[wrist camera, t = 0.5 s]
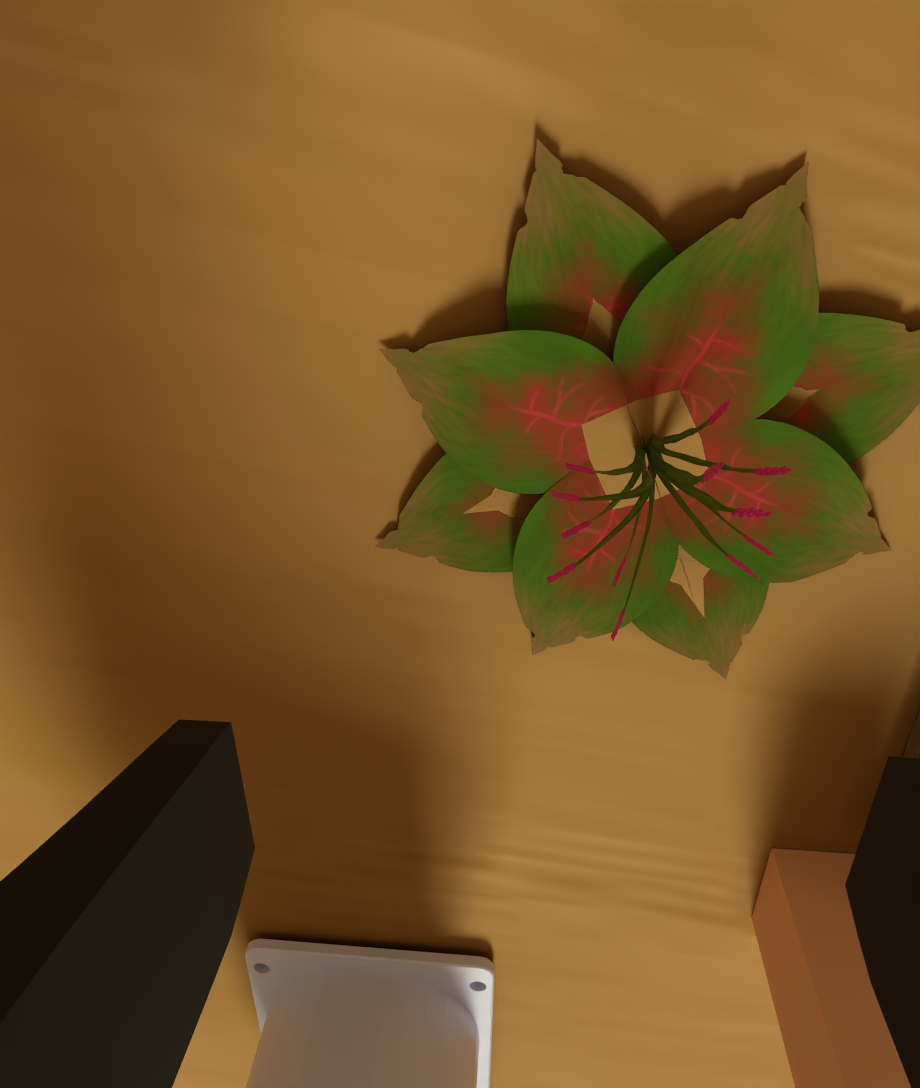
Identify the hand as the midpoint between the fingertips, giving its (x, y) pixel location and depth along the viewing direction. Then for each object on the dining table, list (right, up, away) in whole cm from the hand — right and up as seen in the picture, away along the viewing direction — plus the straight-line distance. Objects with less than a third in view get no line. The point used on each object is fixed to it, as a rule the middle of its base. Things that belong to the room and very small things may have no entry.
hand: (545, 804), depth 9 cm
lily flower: (+3, +5, +8) cm, 10 cm away
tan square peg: (+9, -7, +14) cm, 18 cm away
